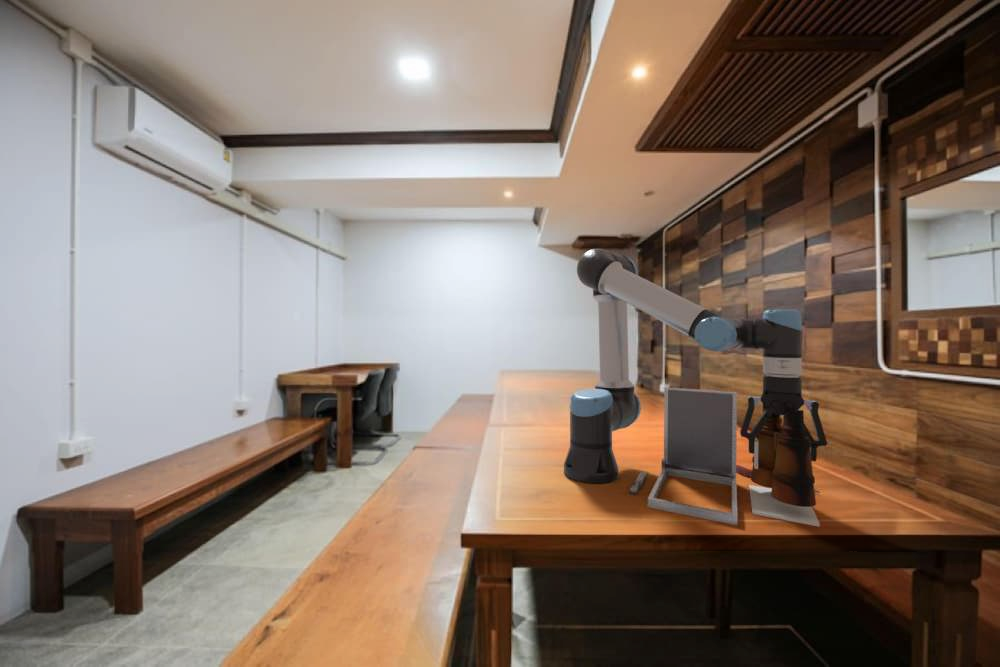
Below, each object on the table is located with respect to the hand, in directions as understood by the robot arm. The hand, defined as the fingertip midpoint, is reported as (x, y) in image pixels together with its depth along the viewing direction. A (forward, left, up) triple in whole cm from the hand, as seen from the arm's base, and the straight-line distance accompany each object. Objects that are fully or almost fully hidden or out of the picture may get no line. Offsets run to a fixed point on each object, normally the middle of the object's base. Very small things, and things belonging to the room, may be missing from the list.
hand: (781, 470), depth 97 cm
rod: (-32, -4, -8) cm, 33 cm away
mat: (0, 0, -8) cm, 8 cm away
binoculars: (0, 0, -5) cm, 5 cm away
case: (-18, -4, -8) cm, 20 cm away
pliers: (-1, +18, -9) cm, 20 cm away
